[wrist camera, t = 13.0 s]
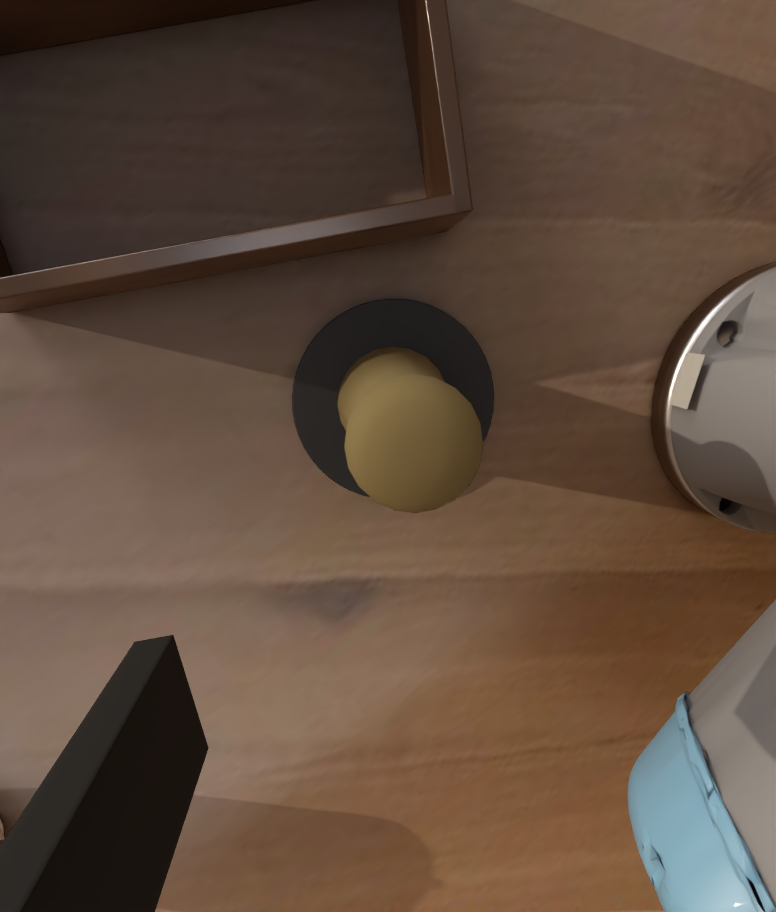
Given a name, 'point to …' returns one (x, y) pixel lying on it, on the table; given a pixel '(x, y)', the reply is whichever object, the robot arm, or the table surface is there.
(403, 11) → the box
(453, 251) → the table surface
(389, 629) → the table surface
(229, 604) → the table surface
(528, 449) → the table surface
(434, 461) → the cork
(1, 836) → the trinket box
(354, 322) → the coaster
